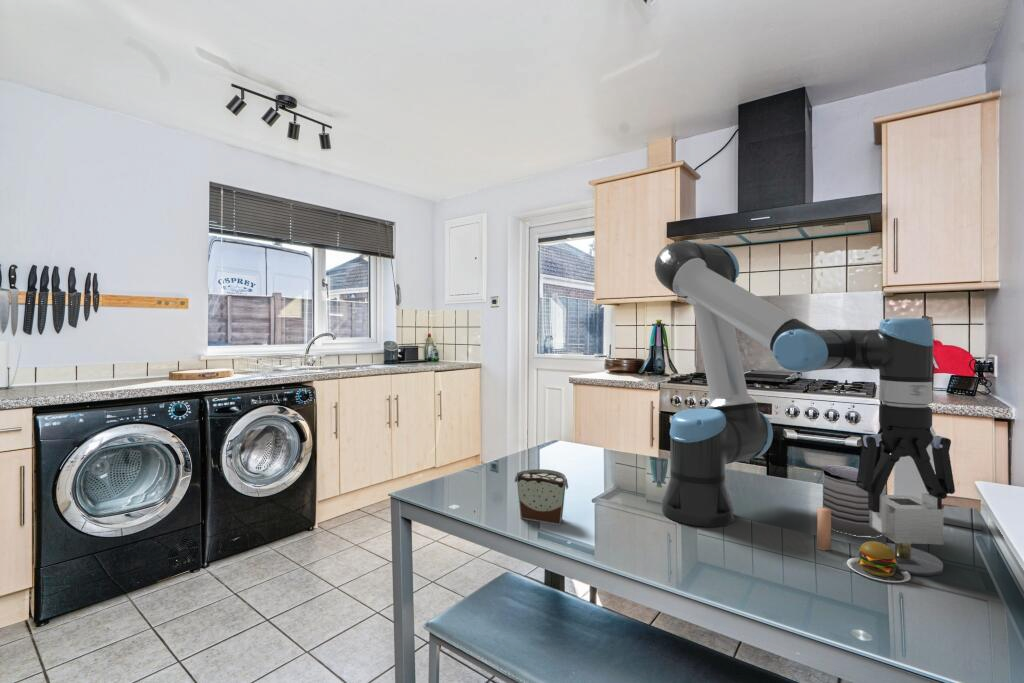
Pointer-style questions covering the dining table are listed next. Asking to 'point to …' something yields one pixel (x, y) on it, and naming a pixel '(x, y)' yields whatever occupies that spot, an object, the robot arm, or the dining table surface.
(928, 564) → the hub
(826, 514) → the sausage
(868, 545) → the hamburger
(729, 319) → the robot arm
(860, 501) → the can
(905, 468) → the milk
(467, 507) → the dining table surface
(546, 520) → the food container
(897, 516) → the collar
